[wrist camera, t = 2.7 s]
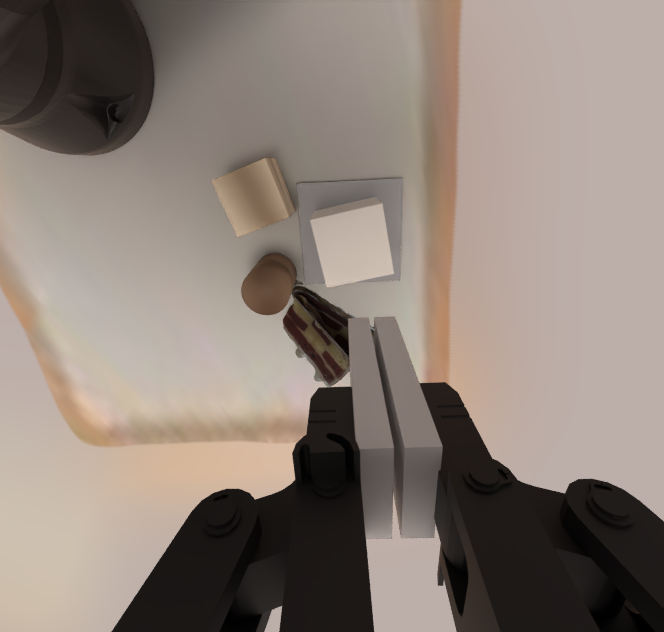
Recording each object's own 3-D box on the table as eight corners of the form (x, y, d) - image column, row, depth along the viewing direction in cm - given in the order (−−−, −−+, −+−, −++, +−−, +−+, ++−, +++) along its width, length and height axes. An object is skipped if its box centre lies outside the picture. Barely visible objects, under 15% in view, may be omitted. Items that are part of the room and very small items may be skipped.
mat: (305, 282, 38) (304, 284, 38) (297, 183, 34) (296, 183, 34) (399, 278, 38) (399, 280, 37) (401, 177, 34) (402, 178, 33)
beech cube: (250, 227, 36) (237, 237, 31) (227, 178, 34) (210, 181, 30) (295, 210, 35) (289, 217, 31) (275, 158, 33) (265, 157, 29)
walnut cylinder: (258, 294, 39) (245, 316, 33) (252, 254, 37) (237, 271, 32) (298, 292, 39) (292, 313, 33) (294, 252, 37) (286, 268, 31)
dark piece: (258, 321, 41) (302, 416, 36) (285, 279, 37) (339, 380, 32) (320, 317, 47) (364, 396, 42) (349, 281, 43) (402, 365, 38)
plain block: (328, 269, 37) (326, 287, 31) (314, 211, 35) (310, 220, 29) (385, 256, 36) (394, 273, 31) (375, 196, 34) (382, 203, 28)
